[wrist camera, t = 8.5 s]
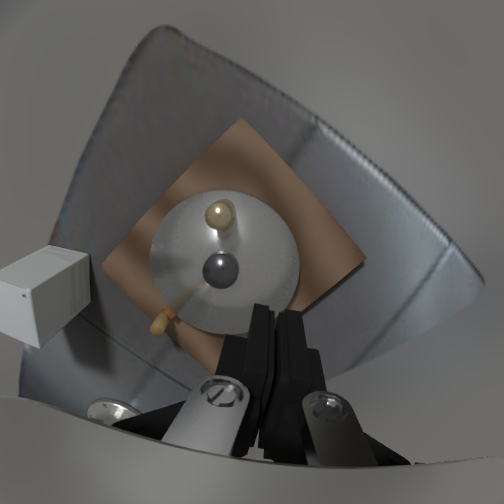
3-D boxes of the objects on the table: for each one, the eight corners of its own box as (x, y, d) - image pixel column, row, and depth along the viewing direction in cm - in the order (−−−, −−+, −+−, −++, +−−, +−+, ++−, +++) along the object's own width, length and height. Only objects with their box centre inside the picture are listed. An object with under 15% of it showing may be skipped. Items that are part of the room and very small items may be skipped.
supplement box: (48, 243, 38) (-14, 273, 26) (91, 253, 38) (31, 290, 26) (50, 291, 40) (-4, 331, 28) (91, 304, 40) (40, 351, 28)
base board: (215, 369, 41) (208, 394, 36) (105, 262, 38) (84, 276, 33) (363, 253, 36) (376, 269, 31) (243, 118, 32) (237, 111, 27)
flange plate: (328, 270, 34) (336, 287, 30) (217, 356, 38) (211, 379, 34) (227, 157, 32) (219, 156, 27) (123, 262, 36) (104, 275, 31)
